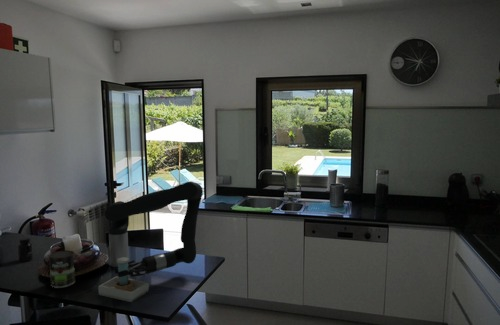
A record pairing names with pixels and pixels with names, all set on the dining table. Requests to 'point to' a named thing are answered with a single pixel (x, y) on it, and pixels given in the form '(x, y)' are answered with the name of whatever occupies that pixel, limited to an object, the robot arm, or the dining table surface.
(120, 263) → the teal capped tube
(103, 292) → the open box
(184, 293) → the dining table surface
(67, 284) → the coffee can
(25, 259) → the supplement bottle
